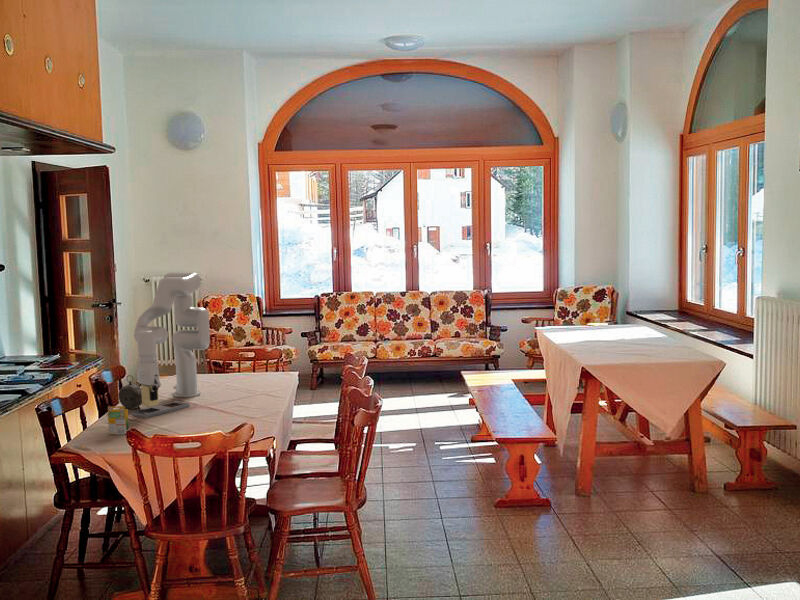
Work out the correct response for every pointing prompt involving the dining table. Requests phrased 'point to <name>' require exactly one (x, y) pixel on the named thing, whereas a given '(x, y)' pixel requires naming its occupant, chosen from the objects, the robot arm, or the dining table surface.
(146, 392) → the brushed gold block
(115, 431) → the crayon box
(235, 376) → the dining table surface
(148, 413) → the divided tray
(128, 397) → the alarm clock
